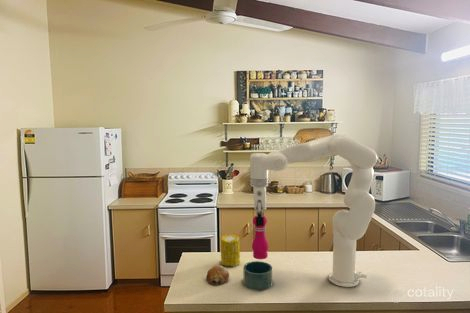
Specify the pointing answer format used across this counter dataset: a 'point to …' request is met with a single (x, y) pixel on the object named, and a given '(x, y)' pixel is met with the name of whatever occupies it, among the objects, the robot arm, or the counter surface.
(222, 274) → the bread roll
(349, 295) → the counter surface
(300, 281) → the counter surface
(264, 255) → the pepper mill
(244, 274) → the pot
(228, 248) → the food
